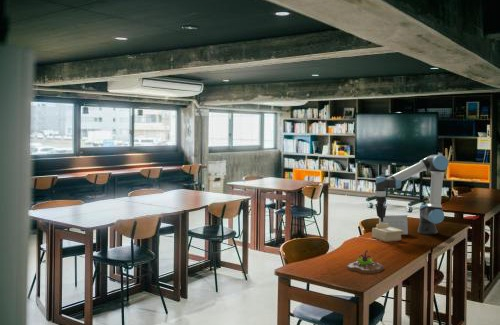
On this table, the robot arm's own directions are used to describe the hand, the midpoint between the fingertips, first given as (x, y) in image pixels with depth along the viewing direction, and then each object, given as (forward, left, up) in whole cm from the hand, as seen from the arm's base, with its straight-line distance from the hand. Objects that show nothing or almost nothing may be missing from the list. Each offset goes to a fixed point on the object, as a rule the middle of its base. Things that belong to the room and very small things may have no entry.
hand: (381, 225), depth 363 cm
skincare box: (-16, -6, -10) cm, 20 cm away
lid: (0, +9, -4) cm, 10 cm away
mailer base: (0, +7, -9) cm, 12 cm away
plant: (+59, +74, -10) cm, 95 cm away
